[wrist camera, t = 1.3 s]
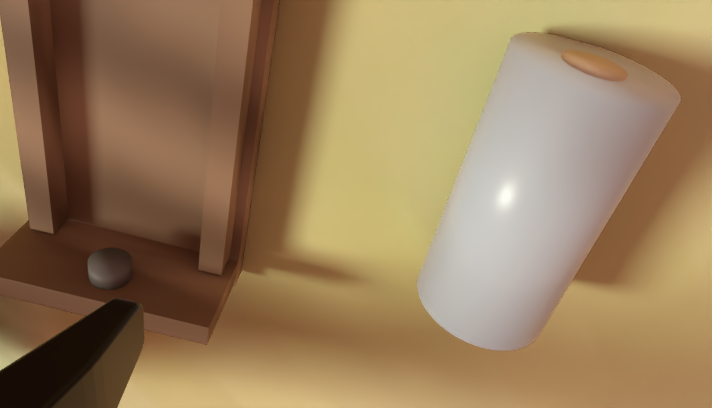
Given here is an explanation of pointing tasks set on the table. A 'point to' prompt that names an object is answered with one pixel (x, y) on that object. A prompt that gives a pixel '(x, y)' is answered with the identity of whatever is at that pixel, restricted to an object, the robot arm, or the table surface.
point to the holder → (136, 152)
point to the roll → (539, 185)
